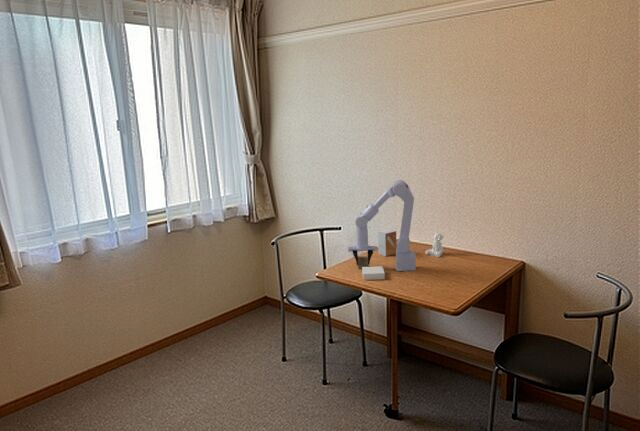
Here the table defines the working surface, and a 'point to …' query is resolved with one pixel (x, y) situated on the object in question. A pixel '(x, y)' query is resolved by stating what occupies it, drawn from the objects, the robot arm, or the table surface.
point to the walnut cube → (362, 262)
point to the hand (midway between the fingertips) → (362, 264)
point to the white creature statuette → (436, 246)
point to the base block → (373, 273)
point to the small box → (387, 242)
